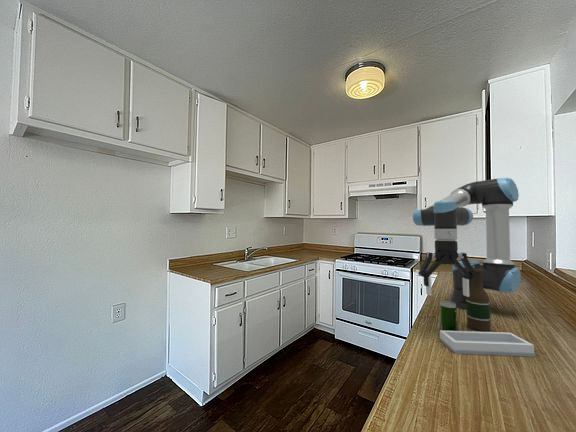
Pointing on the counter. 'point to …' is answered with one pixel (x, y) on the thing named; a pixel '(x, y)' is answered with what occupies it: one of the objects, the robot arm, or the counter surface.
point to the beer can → (448, 316)
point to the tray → (486, 343)
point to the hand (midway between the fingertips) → (447, 295)
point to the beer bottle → (478, 305)
